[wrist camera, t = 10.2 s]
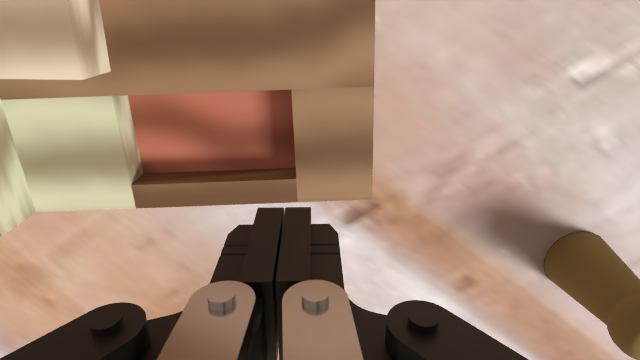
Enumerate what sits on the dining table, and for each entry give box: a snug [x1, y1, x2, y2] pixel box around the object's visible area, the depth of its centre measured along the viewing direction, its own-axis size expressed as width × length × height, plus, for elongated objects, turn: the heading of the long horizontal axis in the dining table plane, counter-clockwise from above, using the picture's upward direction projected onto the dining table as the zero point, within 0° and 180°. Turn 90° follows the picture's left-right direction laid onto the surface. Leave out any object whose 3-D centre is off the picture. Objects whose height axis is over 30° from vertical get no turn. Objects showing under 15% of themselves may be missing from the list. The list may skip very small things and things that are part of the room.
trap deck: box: [0, 0, 375, 237], centre depth 28 cm, size 26×28×7 cm
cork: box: [544, 232, 640, 360], centre depth 35 cm, size 6×6×11 cm
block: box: [0, 0, 111, 80], centre depth 27 cm, size 6×6×4 cm
